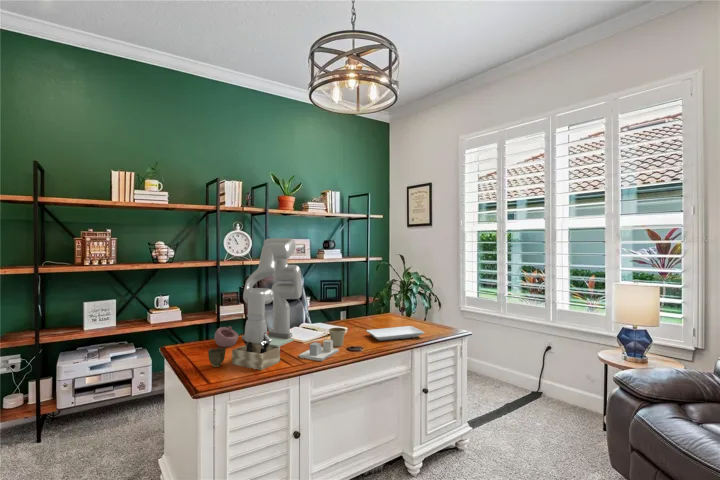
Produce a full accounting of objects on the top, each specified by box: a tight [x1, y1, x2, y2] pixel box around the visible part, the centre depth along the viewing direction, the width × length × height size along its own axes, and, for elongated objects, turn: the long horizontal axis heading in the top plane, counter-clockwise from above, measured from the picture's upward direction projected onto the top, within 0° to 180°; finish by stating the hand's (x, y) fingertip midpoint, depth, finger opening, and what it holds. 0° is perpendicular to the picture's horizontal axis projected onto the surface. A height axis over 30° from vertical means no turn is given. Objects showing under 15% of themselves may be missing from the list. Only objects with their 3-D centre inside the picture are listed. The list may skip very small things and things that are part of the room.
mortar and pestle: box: [214, 325, 239, 348], centre depth 198 cm, size 12×12×12 cm
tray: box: [365, 325, 425, 341], centre depth 221 cm, size 17×31×4 cm, turn 111°
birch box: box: [231, 343, 281, 371], centre depth 172 cm, size 17×13×7 cm
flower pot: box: [328, 327, 347, 348], centre depth 201 cm, size 9×9×9 cm
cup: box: [207, 346, 227, 368], centre depth 167 cm, size 8×7×8 cm
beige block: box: [322, 339, 334, 352], centre depth 188 cm, size 4×4×5 cm
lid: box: [253, 331, 295, 348], centre depth 182 cm, size 17×13×3 cm
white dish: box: [298, 345, 340, 362], centre depth 185 cm, size 13×17×1 cm
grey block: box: [309, 341, 322, 356], centre depth 183 cm, size 4×4×5 cm
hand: (256, 355), depth 172 cm, fingers open, 7 cm apart
